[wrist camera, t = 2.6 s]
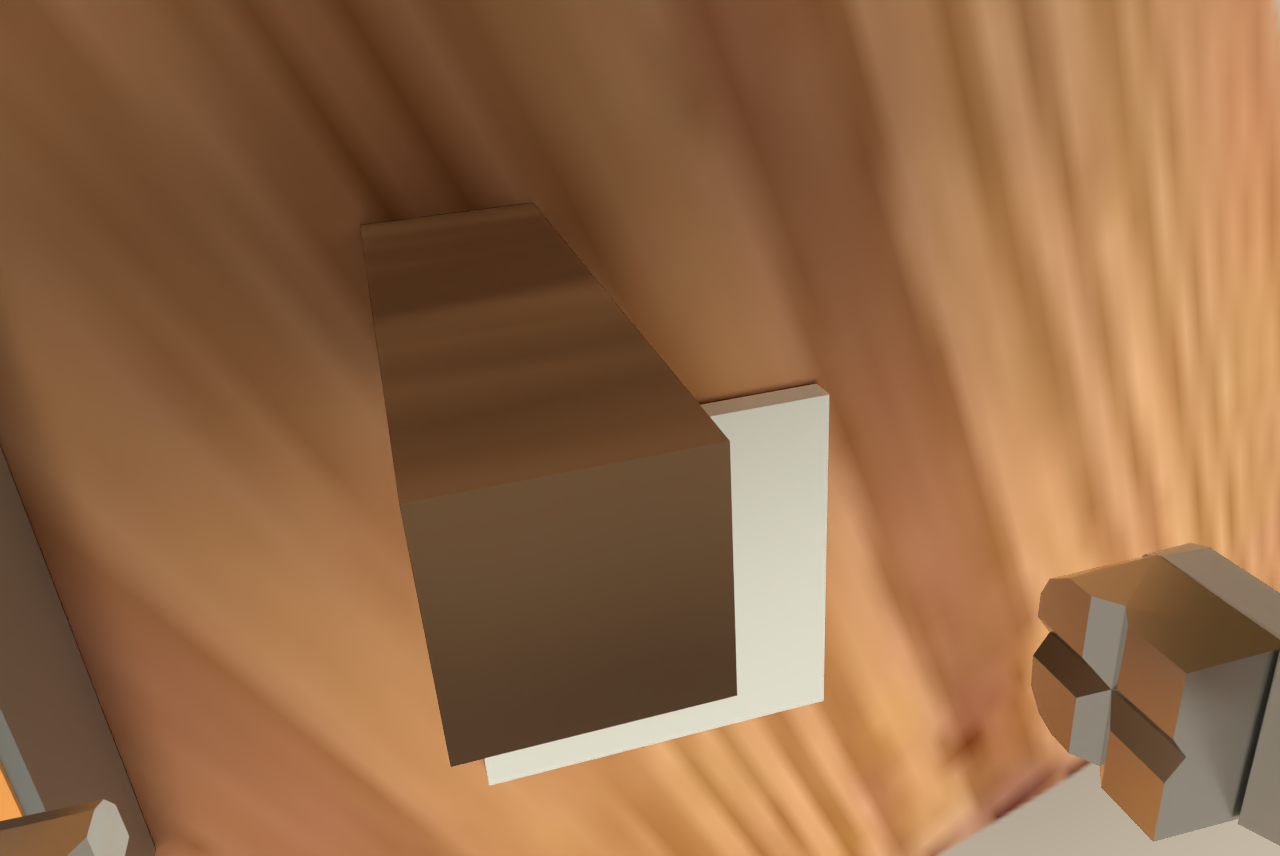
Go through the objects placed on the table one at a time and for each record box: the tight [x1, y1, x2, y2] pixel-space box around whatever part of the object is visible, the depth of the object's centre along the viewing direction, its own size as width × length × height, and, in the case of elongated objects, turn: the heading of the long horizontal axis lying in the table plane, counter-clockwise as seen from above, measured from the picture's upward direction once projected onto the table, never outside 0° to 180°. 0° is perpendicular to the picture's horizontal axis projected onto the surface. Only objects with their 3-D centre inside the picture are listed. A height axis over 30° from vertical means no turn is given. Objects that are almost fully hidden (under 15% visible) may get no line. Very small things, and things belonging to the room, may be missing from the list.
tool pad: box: [484, 384, 829, 786], centre depth 22 cm, size 8×8×1 cm
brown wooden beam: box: [360, 203, 737, 767], centre depth 14 cm, size 3×3×10 cm
